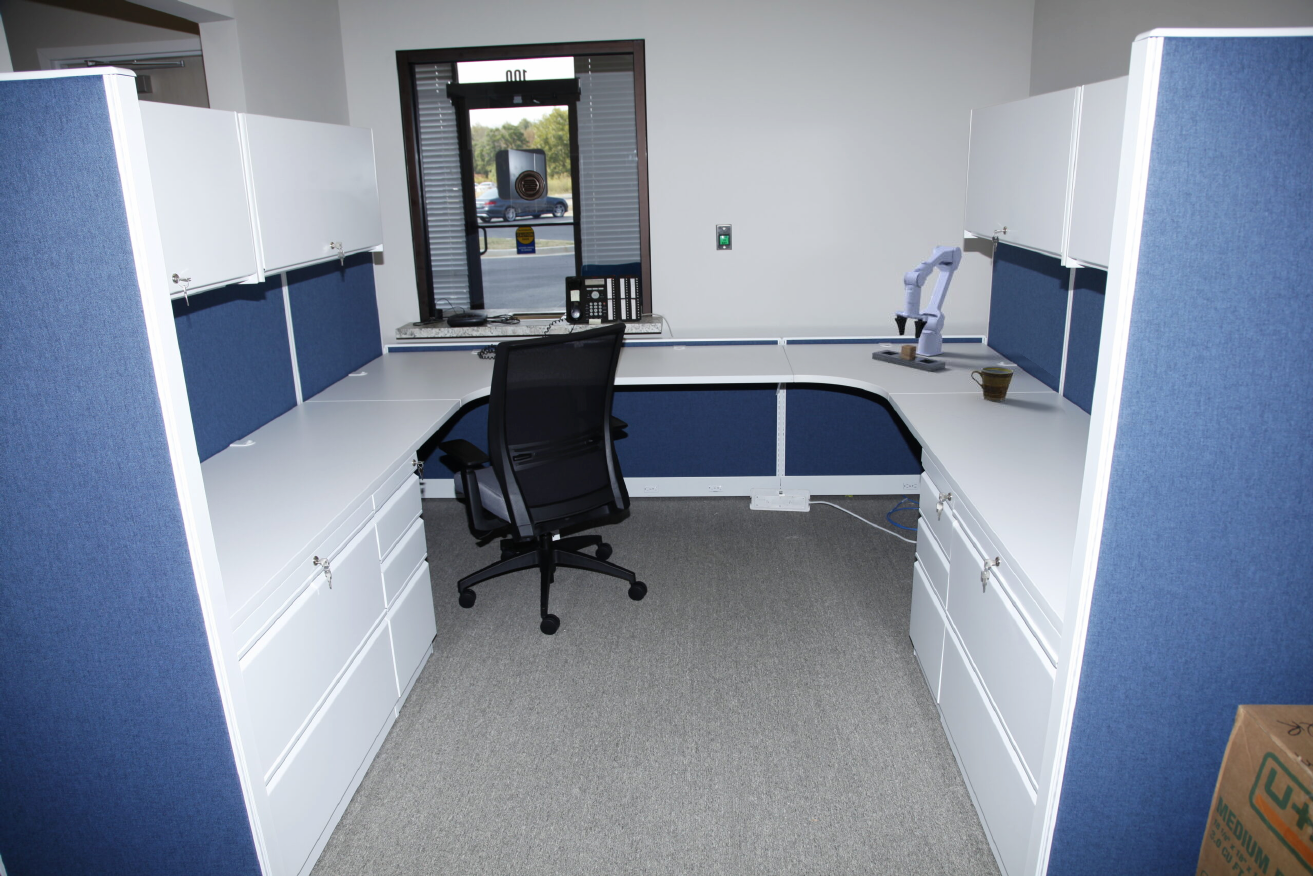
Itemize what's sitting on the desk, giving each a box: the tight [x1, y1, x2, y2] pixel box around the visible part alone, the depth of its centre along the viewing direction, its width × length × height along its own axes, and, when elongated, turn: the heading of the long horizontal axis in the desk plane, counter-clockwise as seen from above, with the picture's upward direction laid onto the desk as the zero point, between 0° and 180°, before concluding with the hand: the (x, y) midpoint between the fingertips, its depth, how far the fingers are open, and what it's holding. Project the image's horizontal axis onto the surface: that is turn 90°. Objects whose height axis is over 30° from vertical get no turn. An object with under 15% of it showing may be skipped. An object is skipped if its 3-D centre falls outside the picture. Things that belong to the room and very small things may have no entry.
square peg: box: [900, 344, 918, 359], centre depth 331 cm, size 4×4×7 cm
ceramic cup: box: [971, 366, 1014, 402], centre depth 282 cm, size 13×10×10 cm
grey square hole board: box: [871, 349, 947, 373], centre depth 332 cm, size 9×28×2 cm, turn 36°
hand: (909, 336), depth 335 cm, fingers open, 7 cm apart
